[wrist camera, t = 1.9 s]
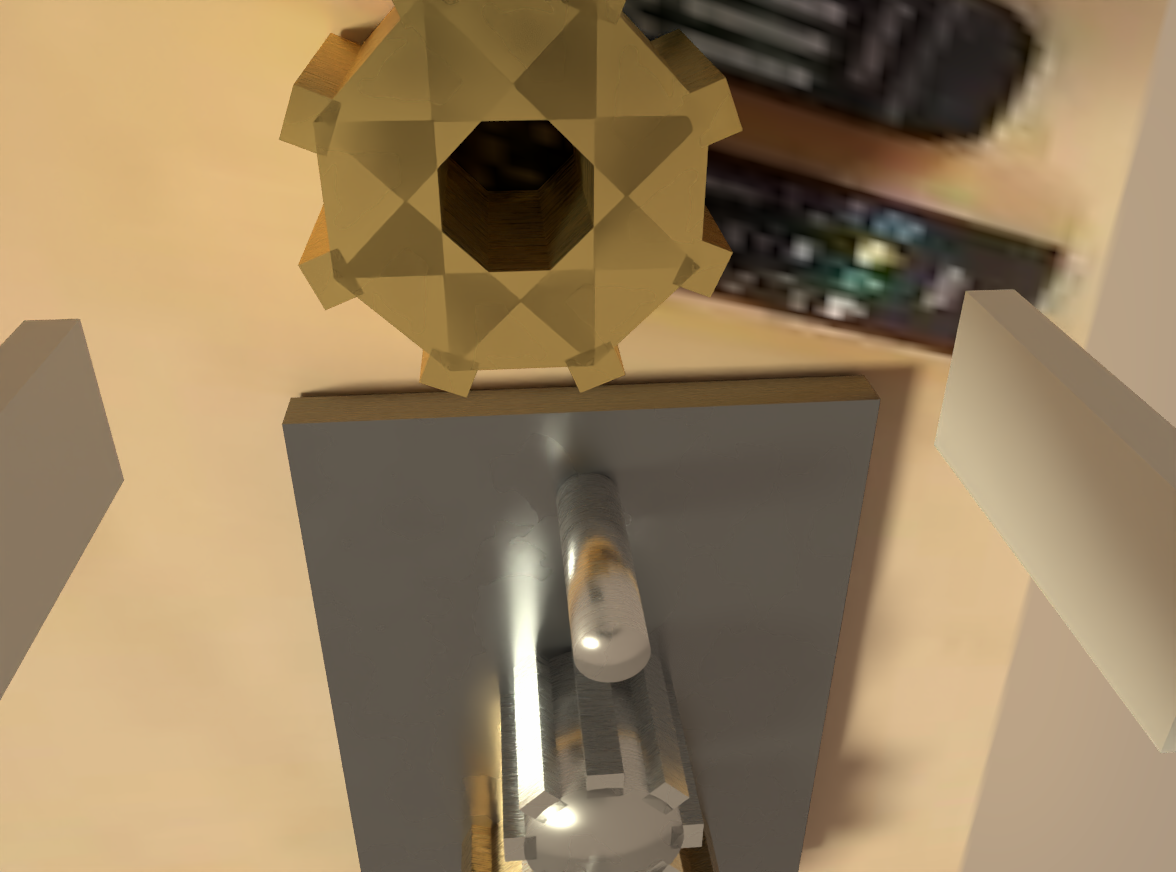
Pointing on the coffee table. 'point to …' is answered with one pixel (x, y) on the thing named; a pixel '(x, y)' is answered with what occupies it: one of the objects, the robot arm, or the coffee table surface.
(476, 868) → the seated gear
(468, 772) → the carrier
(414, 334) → the gear
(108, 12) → the coffee table surface
